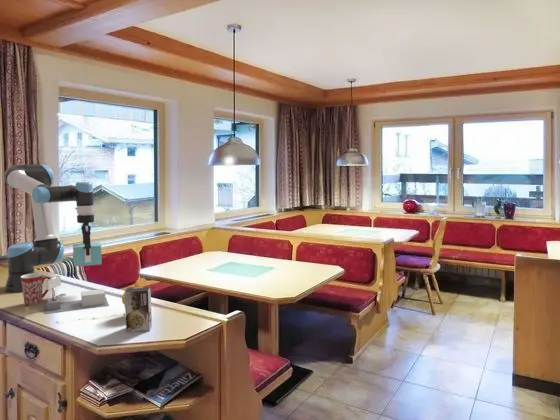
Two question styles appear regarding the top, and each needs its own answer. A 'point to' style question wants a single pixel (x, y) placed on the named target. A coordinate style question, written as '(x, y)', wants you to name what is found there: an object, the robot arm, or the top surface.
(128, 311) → the cookie box
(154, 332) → the top surface
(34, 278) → the mug
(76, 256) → the cover
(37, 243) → the robot arm
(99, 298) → the housing
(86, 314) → the top surface
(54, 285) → the grey flat angled piece
